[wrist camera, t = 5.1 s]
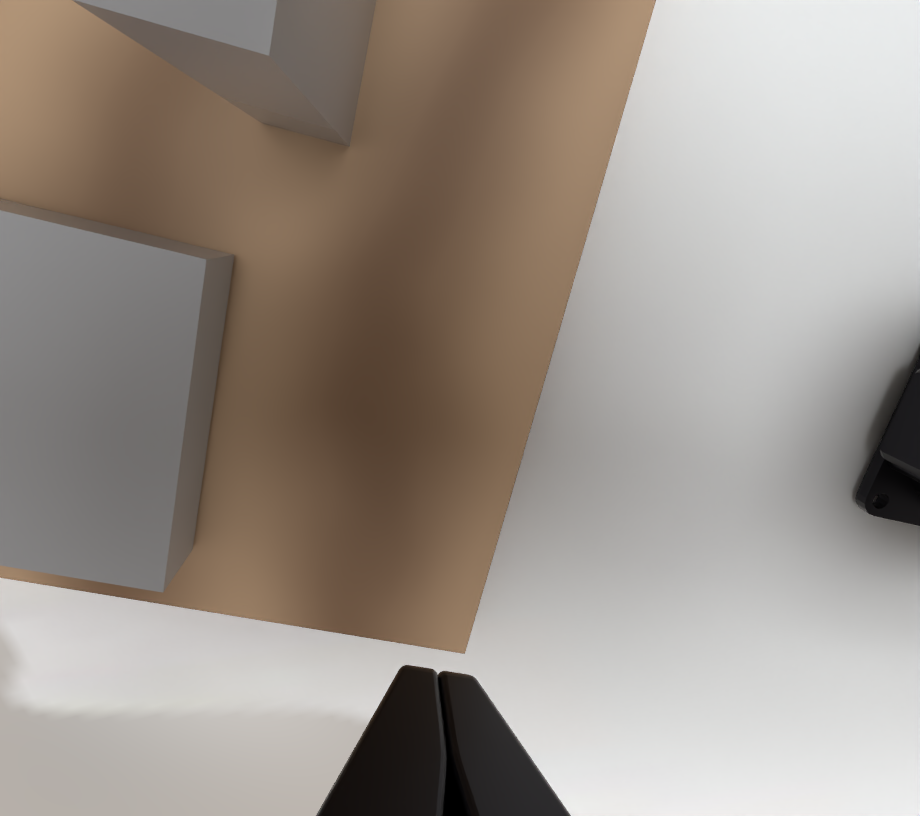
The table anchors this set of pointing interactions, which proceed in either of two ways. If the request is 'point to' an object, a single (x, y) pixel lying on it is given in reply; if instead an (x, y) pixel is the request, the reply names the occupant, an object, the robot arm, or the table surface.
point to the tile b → (261, 54)
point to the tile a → (104, 395)
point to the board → (348, 285)
